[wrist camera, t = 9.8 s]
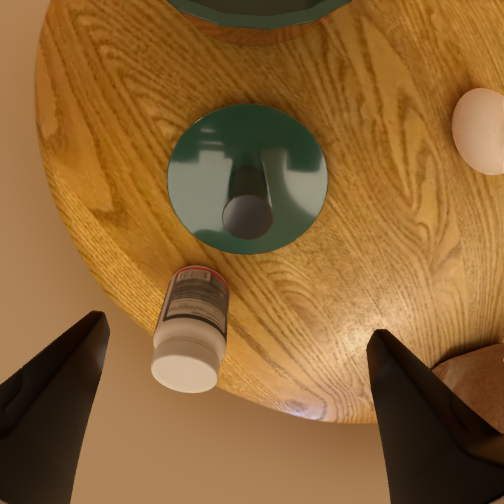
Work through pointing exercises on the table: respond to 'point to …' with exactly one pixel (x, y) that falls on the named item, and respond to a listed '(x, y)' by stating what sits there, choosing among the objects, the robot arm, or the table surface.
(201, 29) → the pot
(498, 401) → the stone cup
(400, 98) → the table surface
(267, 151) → the lid
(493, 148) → the garlic bulb
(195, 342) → the pill bottle
